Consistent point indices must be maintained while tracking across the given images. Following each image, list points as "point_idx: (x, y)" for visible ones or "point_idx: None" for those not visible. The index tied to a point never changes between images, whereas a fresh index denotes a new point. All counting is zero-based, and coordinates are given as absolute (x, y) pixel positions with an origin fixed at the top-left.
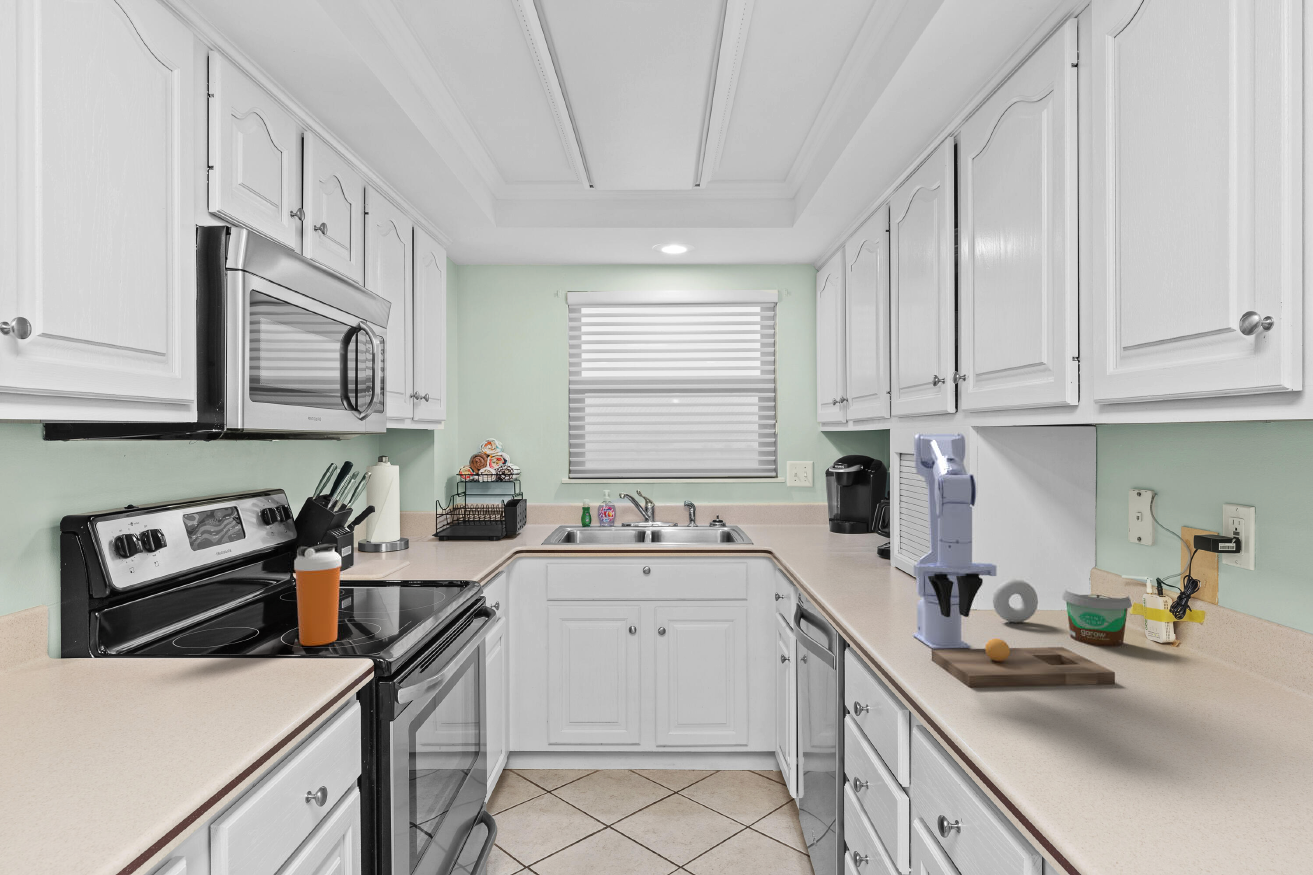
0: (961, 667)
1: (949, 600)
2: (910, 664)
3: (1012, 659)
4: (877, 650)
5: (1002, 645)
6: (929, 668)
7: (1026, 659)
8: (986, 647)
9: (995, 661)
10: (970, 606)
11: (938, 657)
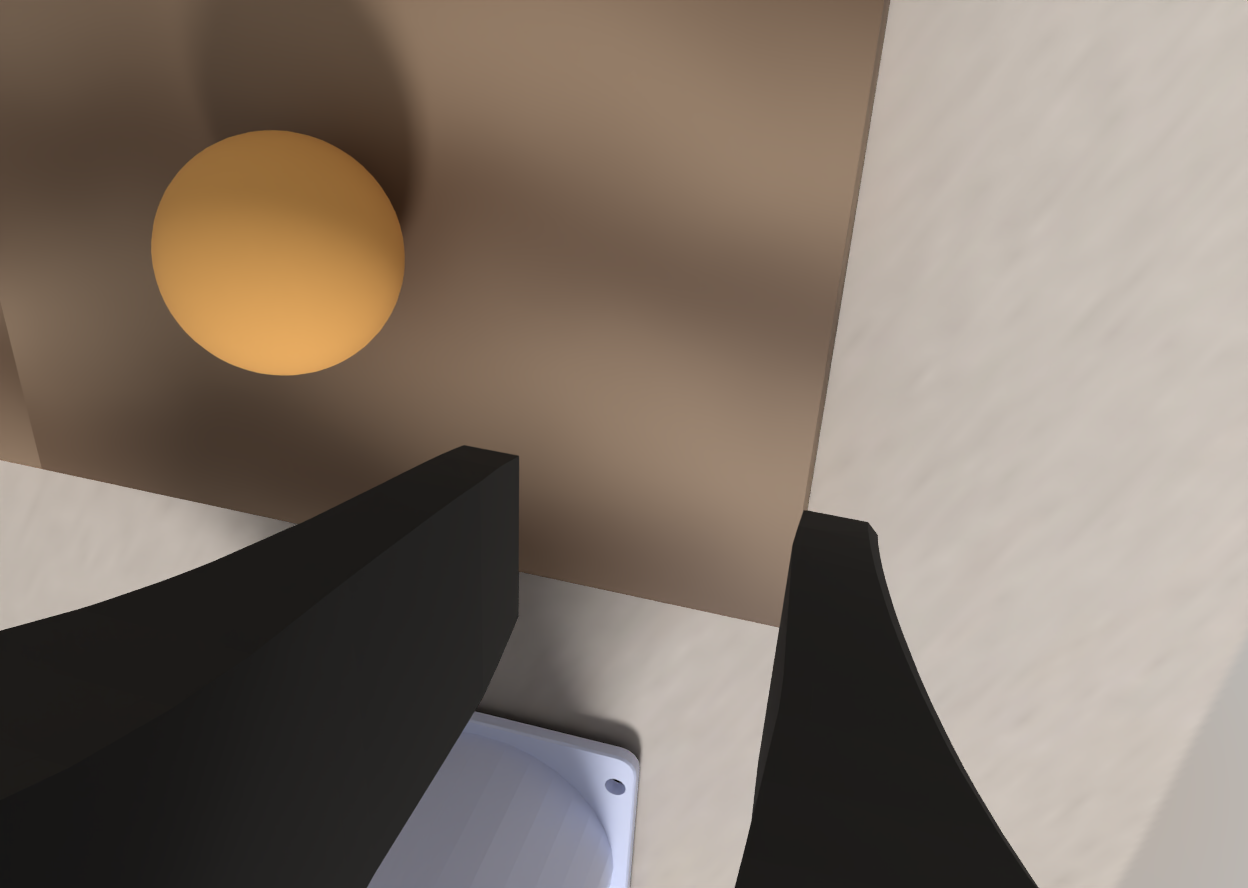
0: (817, 106)
1: (809, 695)
2: (1073, 535)
3: None
4: (1118, 872)
5: (222, 186)
6: (961, 404)
7: (78, 200)
8: (378, 293)
9: None
10: (348, 508)
11: (806, 493)
